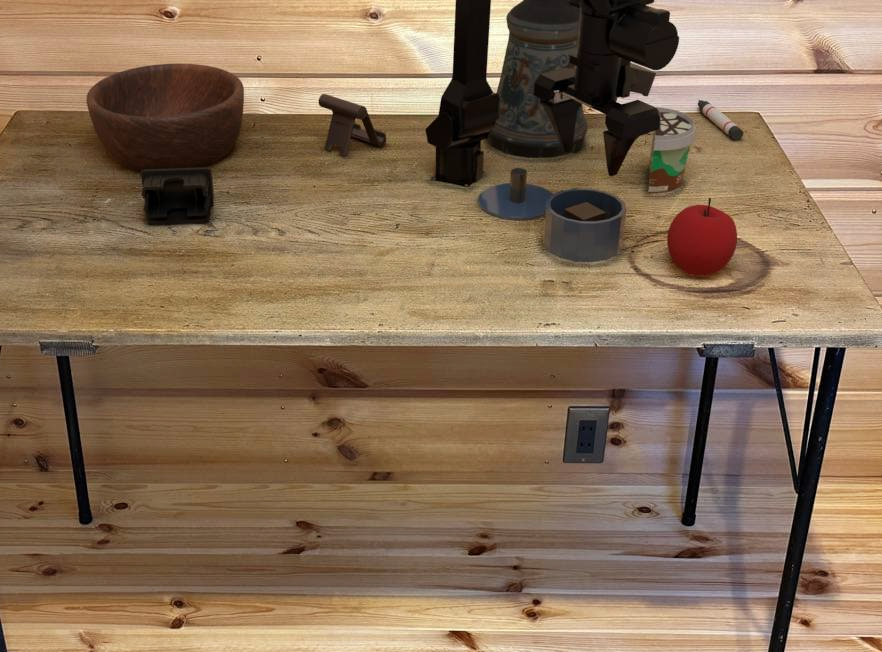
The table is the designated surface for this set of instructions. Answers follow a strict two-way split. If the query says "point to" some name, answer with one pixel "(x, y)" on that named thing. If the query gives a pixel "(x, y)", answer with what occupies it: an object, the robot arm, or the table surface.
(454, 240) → the table surface
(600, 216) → the block
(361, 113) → the tablet stand
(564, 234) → the tin
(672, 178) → the food container
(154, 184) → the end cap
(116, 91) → the wooden bowl
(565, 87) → the robot arm
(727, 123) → the marker
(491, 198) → the lid
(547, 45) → the beer stein
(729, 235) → the apple
